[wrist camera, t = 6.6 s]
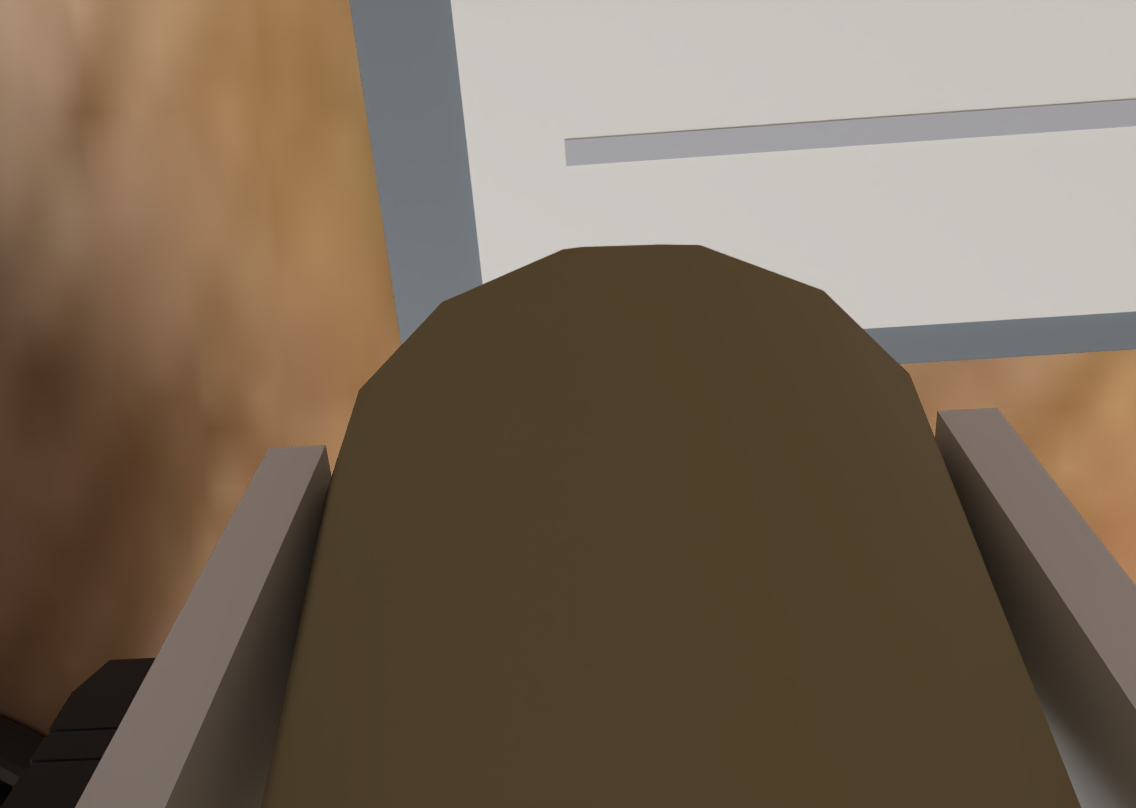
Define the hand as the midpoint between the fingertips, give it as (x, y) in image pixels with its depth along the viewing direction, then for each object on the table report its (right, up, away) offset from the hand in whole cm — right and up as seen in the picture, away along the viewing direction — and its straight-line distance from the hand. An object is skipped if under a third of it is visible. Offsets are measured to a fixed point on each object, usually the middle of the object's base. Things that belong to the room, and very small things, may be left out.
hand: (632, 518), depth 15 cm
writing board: (+8, +10, +20) cm, 24 cm away
